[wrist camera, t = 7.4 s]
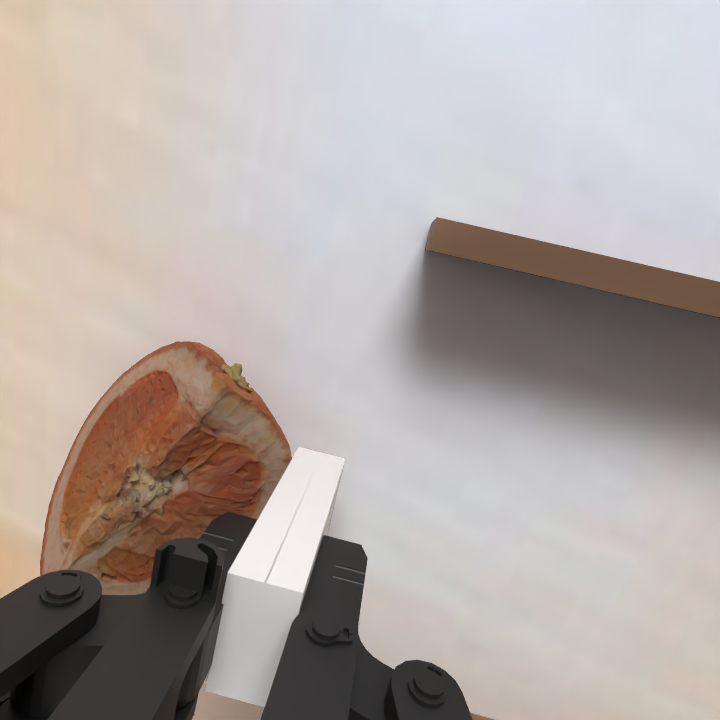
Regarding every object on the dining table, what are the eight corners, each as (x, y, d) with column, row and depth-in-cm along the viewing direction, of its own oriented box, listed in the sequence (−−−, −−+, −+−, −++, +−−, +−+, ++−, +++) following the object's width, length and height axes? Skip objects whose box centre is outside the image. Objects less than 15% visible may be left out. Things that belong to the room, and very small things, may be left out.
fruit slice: (207, 287, 18) (130, 301, 13) (357, 424, 18) (337, 489, 13) (63, 457, 19) (-53, 527, 15) (203, 578, 20) (136, 685, 15)
